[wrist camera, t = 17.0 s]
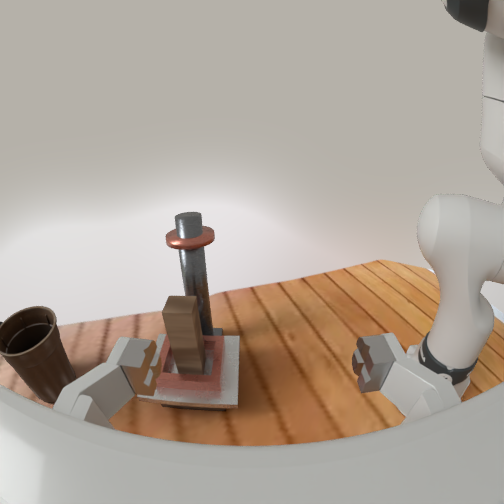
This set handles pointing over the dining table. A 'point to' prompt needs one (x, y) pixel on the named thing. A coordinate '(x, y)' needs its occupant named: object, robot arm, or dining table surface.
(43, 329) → the plant pot
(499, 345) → the dining table surface
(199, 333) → the tall wooden post
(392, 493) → the robot arm
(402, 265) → the dining table surface
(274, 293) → the dining table surface
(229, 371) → the bracket
